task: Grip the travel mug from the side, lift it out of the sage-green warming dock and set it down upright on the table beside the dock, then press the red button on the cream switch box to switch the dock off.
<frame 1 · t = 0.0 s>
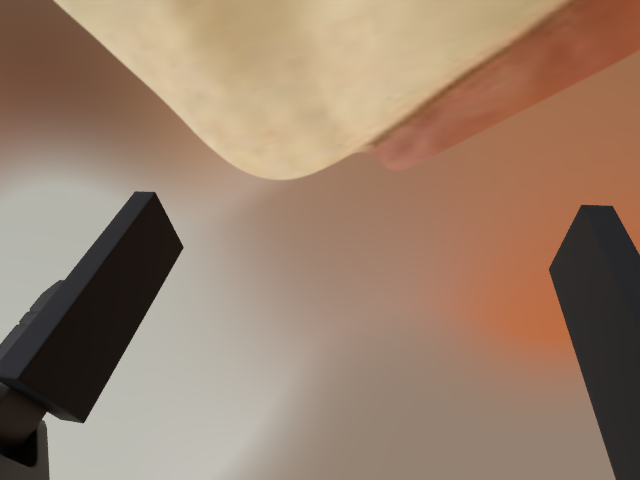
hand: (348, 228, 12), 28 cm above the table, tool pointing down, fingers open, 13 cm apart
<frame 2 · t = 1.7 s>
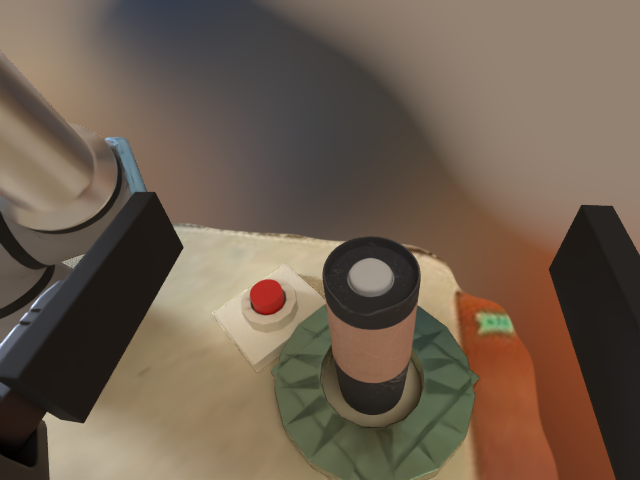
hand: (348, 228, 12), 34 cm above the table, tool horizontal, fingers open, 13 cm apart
travel mug: (371, 383, 43), resting in warming dock
switch button: (267, 296, 47), point 5 cm above the table, slide at 0.1 cm
warming dock: (371, 383, 43), on the table
switch box: (274, 317, 51), on the table
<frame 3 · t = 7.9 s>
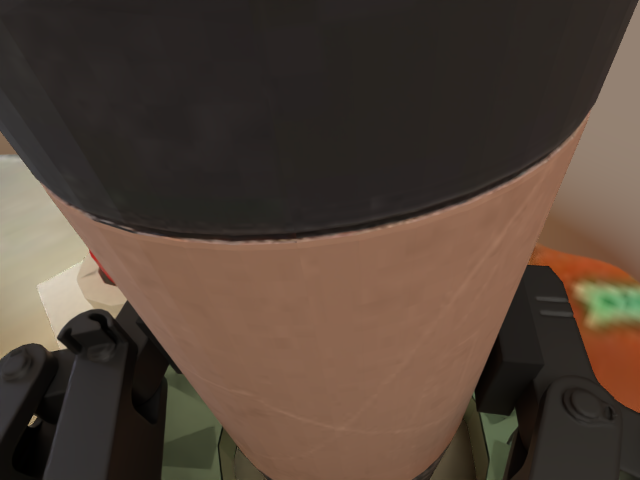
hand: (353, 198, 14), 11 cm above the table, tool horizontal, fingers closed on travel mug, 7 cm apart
travel mug: (350, 445, 18), resting in warming dock, touching gripper
switch button: (133, 248, 22), point 5 cm above the table, slide at 0.1 cm
warming dock: (350, 443, 18), on the table
switch box: (164, 295, 26), on the table
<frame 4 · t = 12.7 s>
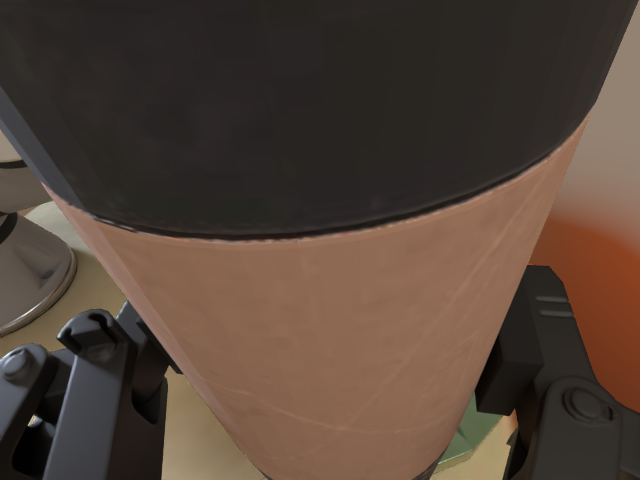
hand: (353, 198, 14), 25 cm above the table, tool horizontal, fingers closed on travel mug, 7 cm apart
travel mug: (351, 444, 18), point 14 cm above the table, touching gripper
warming dock: (386, 352, 36), on the table
when the fingers open (11 cm above the table, at t = 17.7 s): travel mug stays where it is, on the table.
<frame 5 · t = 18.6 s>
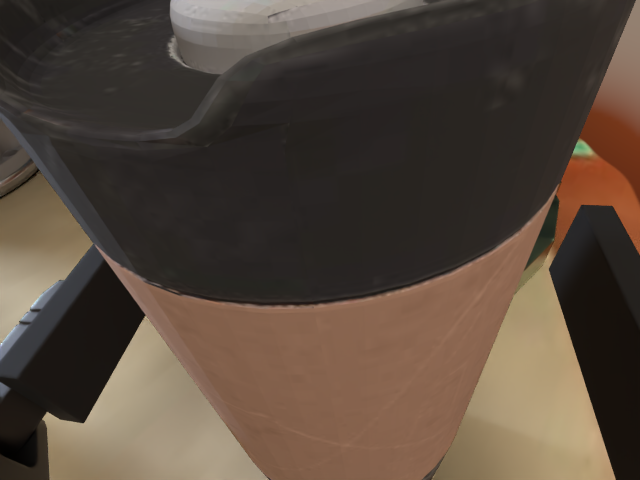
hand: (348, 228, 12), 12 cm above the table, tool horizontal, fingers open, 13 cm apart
travel mug: (353, 450, 19), on the table
warming dock: (401, 210, 31), on the table
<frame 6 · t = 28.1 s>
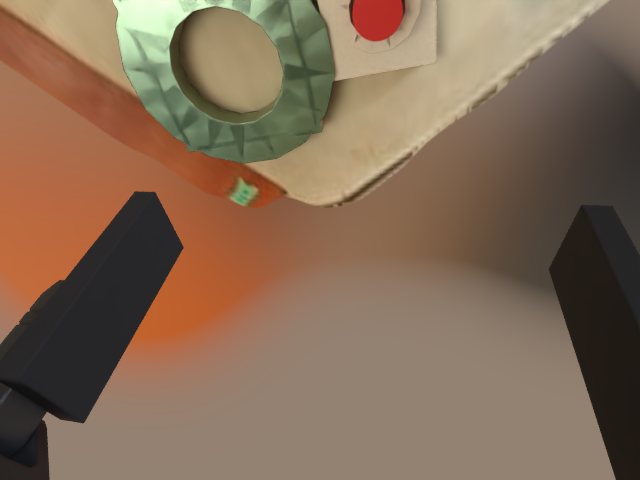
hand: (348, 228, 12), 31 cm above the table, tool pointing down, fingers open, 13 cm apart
switch button: (377, 11, 31), point 5 cm above the table, slide at 0.1 cm
warming dock: (233, 62, 39), on the table
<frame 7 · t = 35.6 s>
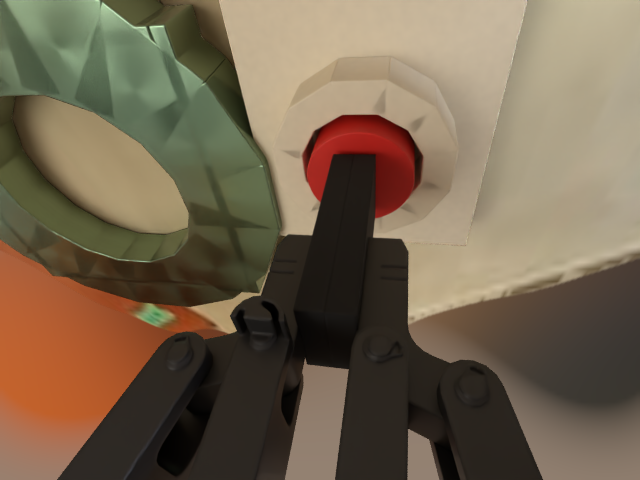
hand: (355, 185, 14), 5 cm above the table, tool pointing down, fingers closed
switch button: (362, 164, 15), point 4 cm above the table, slide at -0.9 cm, touching gripper
warming dock: (113, 167, 22), on the table
switch box: (369, 118, 17), on the table
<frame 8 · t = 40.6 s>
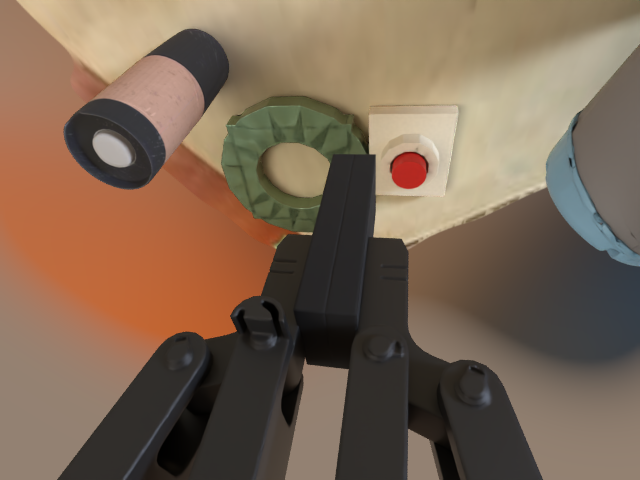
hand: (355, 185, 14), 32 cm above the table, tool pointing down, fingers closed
travel mug: (201, 60, 45), on the table
switch button: (409, 170, 46), point 5 cm above the table, slide at 0.1 cm
warming dock: (299, 167, 54), on the table
switch box: (409, 149, 49), on the table
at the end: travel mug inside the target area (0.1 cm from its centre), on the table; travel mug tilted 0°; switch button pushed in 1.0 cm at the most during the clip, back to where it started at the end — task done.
